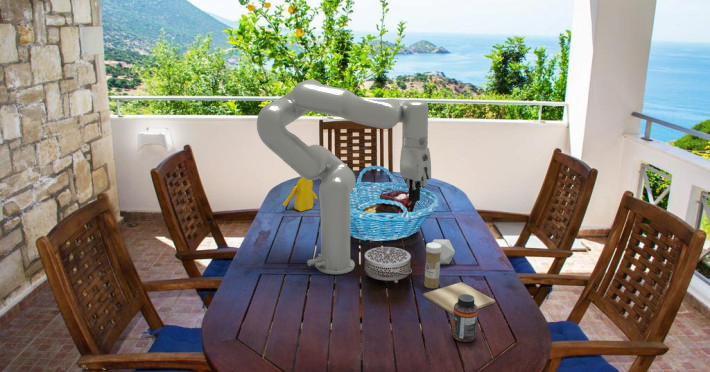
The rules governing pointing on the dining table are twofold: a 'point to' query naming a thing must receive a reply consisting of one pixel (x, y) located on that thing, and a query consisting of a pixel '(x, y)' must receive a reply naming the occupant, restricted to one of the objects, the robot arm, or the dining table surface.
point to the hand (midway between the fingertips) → (414, 200)
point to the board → (456, 296)
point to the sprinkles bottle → (432, 265)
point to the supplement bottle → (464, 318)
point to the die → (445, 250)
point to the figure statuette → (302, 195)
